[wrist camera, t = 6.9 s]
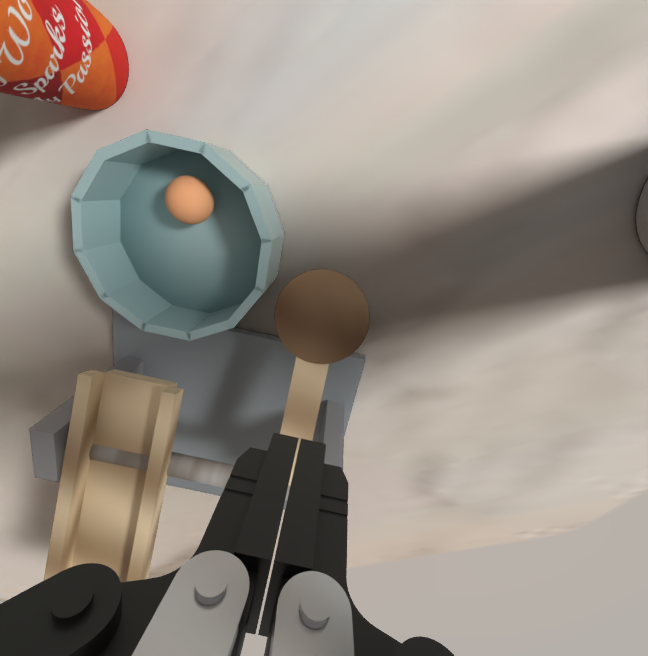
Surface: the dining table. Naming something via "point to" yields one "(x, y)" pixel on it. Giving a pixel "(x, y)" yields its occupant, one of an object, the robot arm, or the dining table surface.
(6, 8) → the paper cup
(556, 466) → the dining table surface
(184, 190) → the ball
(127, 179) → the bowl
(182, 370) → the stand
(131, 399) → the lever
